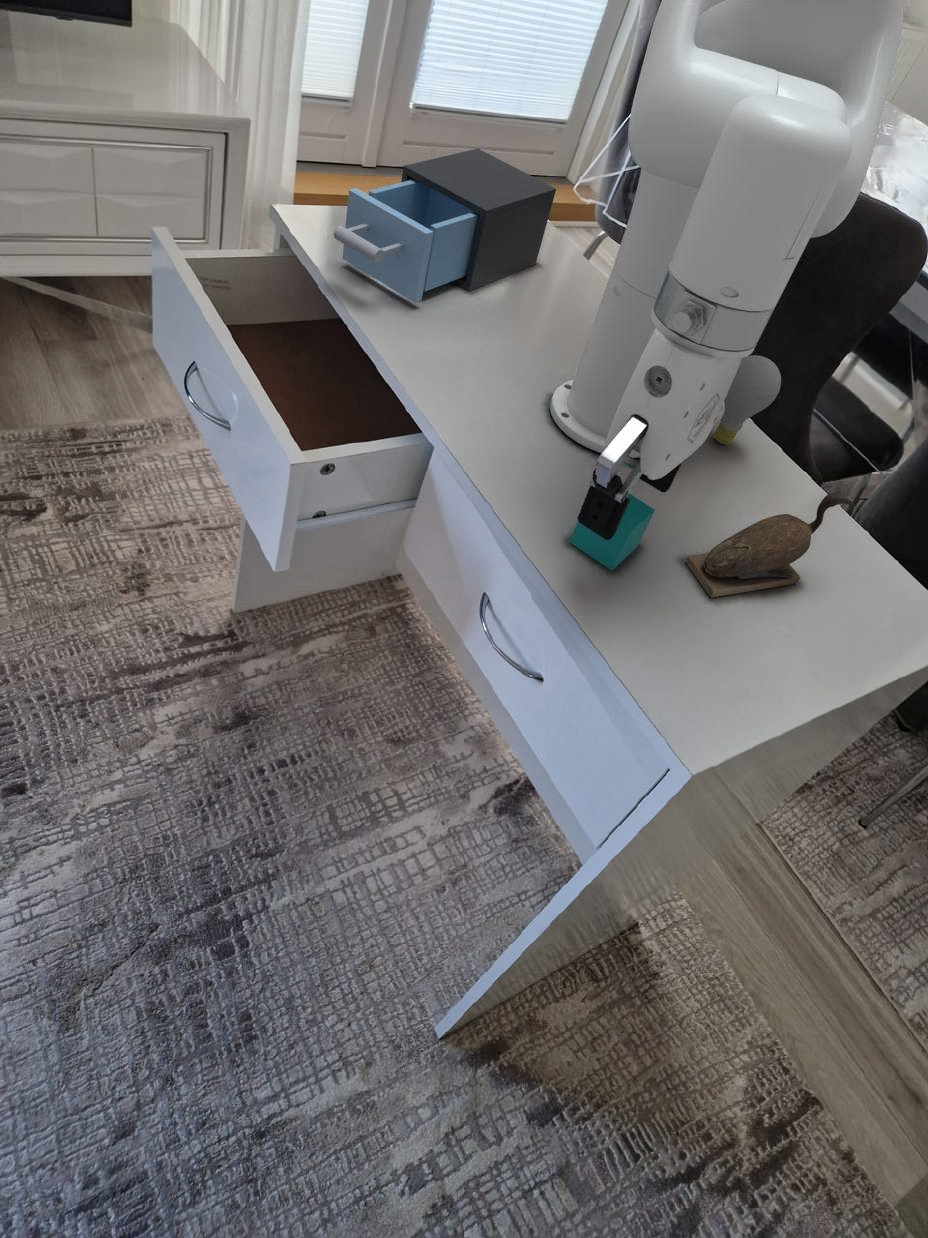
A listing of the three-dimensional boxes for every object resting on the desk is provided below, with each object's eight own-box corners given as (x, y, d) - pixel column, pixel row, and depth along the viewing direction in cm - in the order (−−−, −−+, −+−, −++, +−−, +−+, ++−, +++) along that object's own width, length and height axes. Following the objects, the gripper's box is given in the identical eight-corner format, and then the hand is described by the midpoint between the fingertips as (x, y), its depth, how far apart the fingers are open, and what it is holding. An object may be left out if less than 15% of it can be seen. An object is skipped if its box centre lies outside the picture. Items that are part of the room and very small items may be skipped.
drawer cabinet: (468, 291, 98) (486, 210, 91) (391, 246, 102) (403, 165, 95) (535, 264, 107) (556, 188, 100) (462, 223, 111) (477, 147, 104)
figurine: (802, 545, 78) (851, 474, 71) (830, 578, 75) (885, 507, 69) (683, 562, 72) (726, 486, 66) (710, 598, 70) (757, 523, 64)
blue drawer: (386, 313, 89) (397, 243, 83) (312, 267, 92) (317, 197, 87) (485, 274, 100) (500, 209, 94) (416, 235, 104) (426, 170, 98)
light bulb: (719, 462, 84) (764, 378, 77) (686, 430, 87) (727, 347, 80) (755, 453, 87) (802, 371, 80) (721, 423, 90) (764, 341, 82)
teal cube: (636, 547, 72) (655, 509, 69) (611, 571, 70) (630, 532, 66) (595, 520, 74) (612, 482, 70) (569, 542, 71) (585, 503, 68)
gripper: (705, 372, 49) (610, 576, 61) (803, 305, 60) (706, 489, 72) (602, 316, 51) (530, 524, 63) (714, 261, 62) (635, 447, 74)
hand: (623, 505), depth 67 cm, fingers open, 9 cm apart
